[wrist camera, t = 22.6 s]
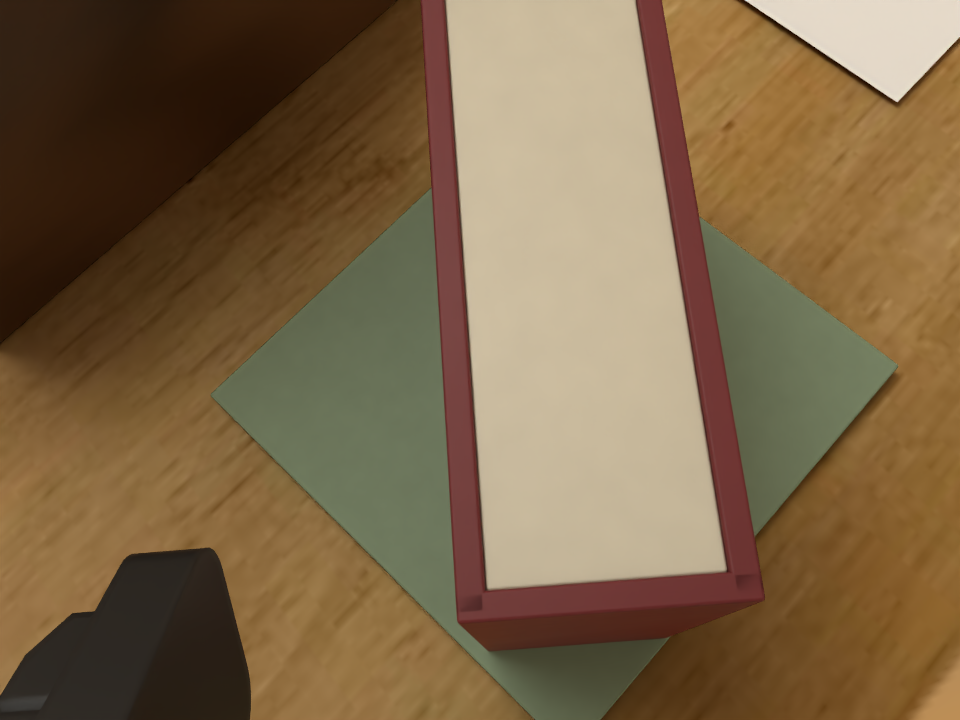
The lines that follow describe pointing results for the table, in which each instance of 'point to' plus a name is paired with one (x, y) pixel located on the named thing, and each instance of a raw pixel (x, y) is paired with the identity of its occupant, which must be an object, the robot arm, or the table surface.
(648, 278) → the top book
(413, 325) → the felt mat
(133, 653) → the robot arm
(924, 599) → the table surface
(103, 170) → the riser
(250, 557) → the table surface
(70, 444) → the table surface
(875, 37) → the white block
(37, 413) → the table surface
